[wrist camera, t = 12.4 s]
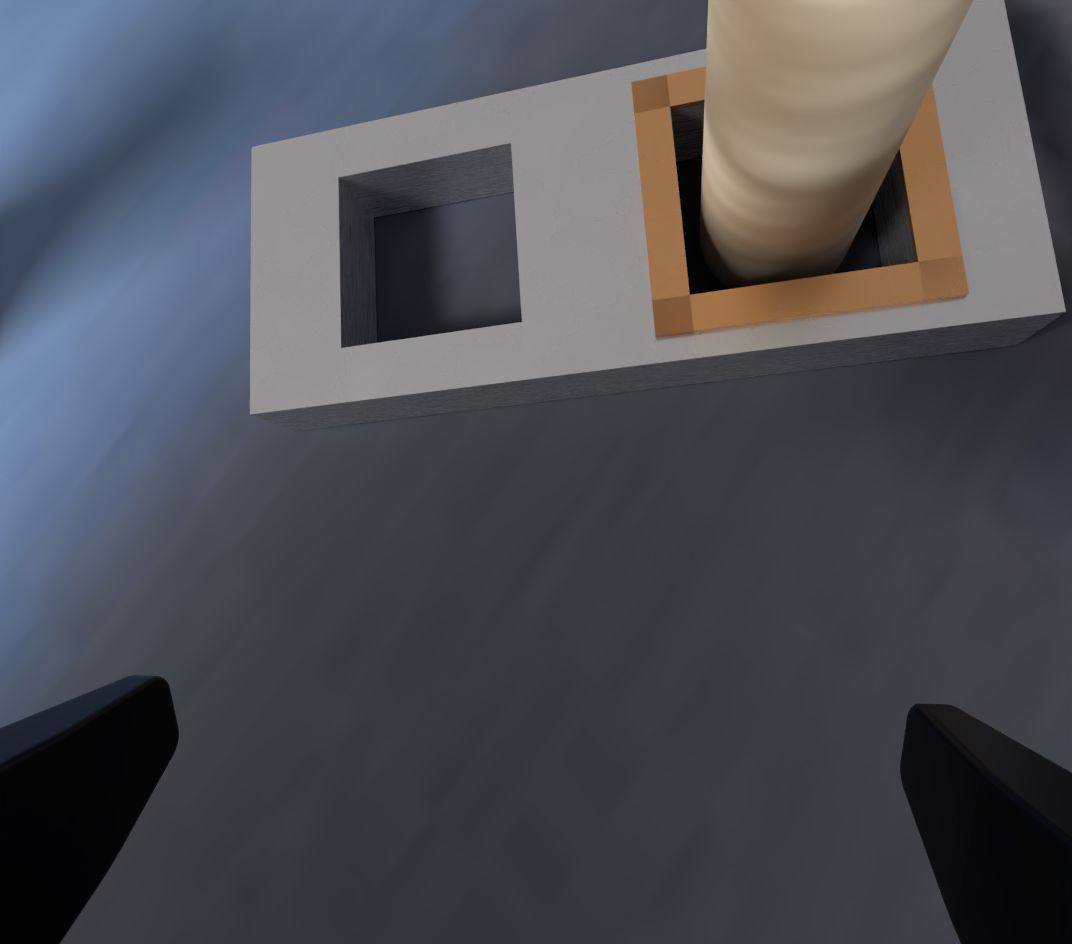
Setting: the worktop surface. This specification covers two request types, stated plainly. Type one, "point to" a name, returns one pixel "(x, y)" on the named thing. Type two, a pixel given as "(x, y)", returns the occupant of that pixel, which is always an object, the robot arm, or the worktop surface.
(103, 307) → the worktop surface
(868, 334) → the white peg board
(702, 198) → the maple peg
